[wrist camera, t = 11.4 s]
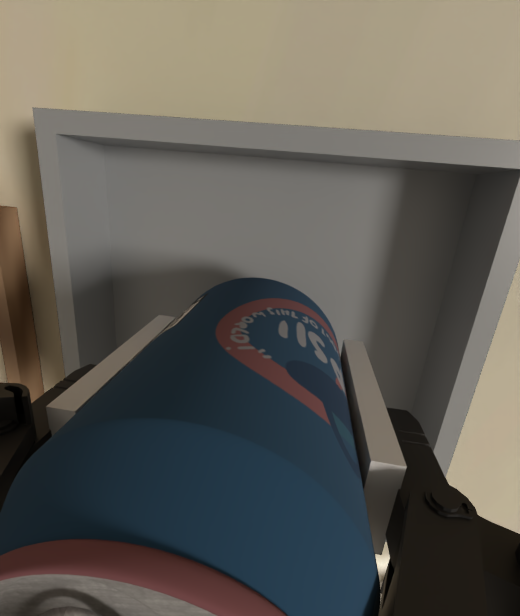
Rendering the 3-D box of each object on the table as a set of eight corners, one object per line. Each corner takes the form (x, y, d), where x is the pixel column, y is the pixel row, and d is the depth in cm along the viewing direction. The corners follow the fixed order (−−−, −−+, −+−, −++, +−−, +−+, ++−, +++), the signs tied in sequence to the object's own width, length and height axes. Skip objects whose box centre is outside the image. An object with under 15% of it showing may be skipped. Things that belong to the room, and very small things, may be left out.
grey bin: (91, 125, 16) (32, 107, 12) (499, 155, 14) (558, 143, 10) (113, 438, 21) (78, 483, 18) (402, 488, 20) (421, 548, 16)
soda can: (369, 351, 15) (542, 818, 4) (258, 431, 17) (162, 876, 6) (261, 236, 14) (70, 407, 3) (158, 336, 16) (-176, 655, 5)
